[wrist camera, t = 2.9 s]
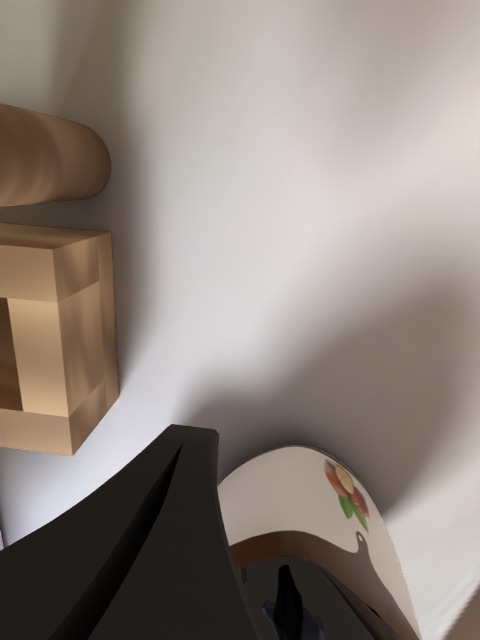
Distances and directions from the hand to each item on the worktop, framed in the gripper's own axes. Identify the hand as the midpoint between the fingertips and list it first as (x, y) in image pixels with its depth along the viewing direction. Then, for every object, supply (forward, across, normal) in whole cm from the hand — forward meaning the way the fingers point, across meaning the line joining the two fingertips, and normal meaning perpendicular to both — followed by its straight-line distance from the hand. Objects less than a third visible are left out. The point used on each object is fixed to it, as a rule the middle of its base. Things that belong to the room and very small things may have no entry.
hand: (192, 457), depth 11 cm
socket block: (+9, +11, 0) cm, 14 cm away
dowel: (+10, +8, -8) cm, 14 cm away
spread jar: (+10, -2, +10) cm, 14 cm away
